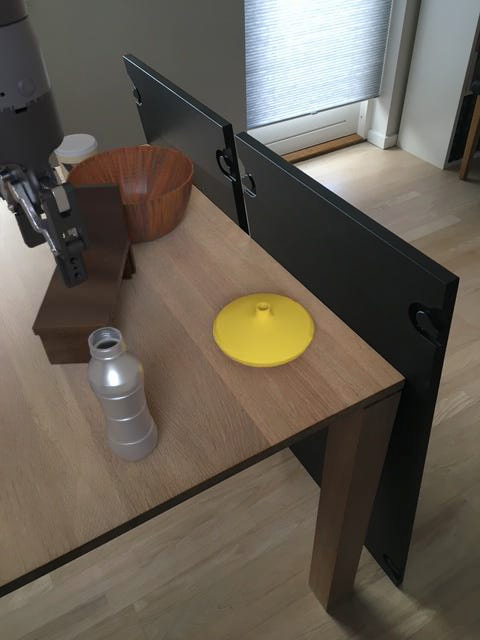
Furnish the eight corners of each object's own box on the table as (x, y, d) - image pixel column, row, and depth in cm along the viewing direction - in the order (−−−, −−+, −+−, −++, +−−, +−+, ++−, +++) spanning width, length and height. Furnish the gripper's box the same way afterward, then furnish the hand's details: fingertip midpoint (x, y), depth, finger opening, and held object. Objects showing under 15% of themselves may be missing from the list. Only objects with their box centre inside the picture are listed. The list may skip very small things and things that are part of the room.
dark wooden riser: (117, 362, 83) (92, 268, 71) (47, 366, 83) (9, 272, 71) (136, 270, 101) (118, 182, 89) (78, 272, 101) (52, 185, 89)
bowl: (218, 235, 109) (214, 183, 101) (97, 271, 101) (83, 218, 93) (174, 183, 126) (168, 136, 118) (67, 211, 118) (53, 162, 110)
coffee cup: (70, 206, 120) (56, 154, 112) (63, 187, 126) (49, 138, 118) (111, 196, 122) (100, 145, 114) (102, 179, 129) (91, 130, 121)
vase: (235, 390, 78) (232, 356, 73) (200, 323, 89) (196, 290, 84) (331, 358, 82) (335, 324, 77) (287, 298, 93) (287, 265, 88)
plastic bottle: (132, 419, 75) (102, 310, 61) (170, 440, 72) (148, 331, 58) (100, 453, 71) (60, 345, 57) (139, 476, 68) (107, 368, 55)
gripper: (-80, 77, 43) (-10, 246, 54) (-18, 128, 35) (51, 317, 45) (10, 56, 46) (60, 219, 57) (87, 98, 38) (128, 280, 49)
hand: (56, 262), depth 51 cm, fingers open, 8 cm apart
